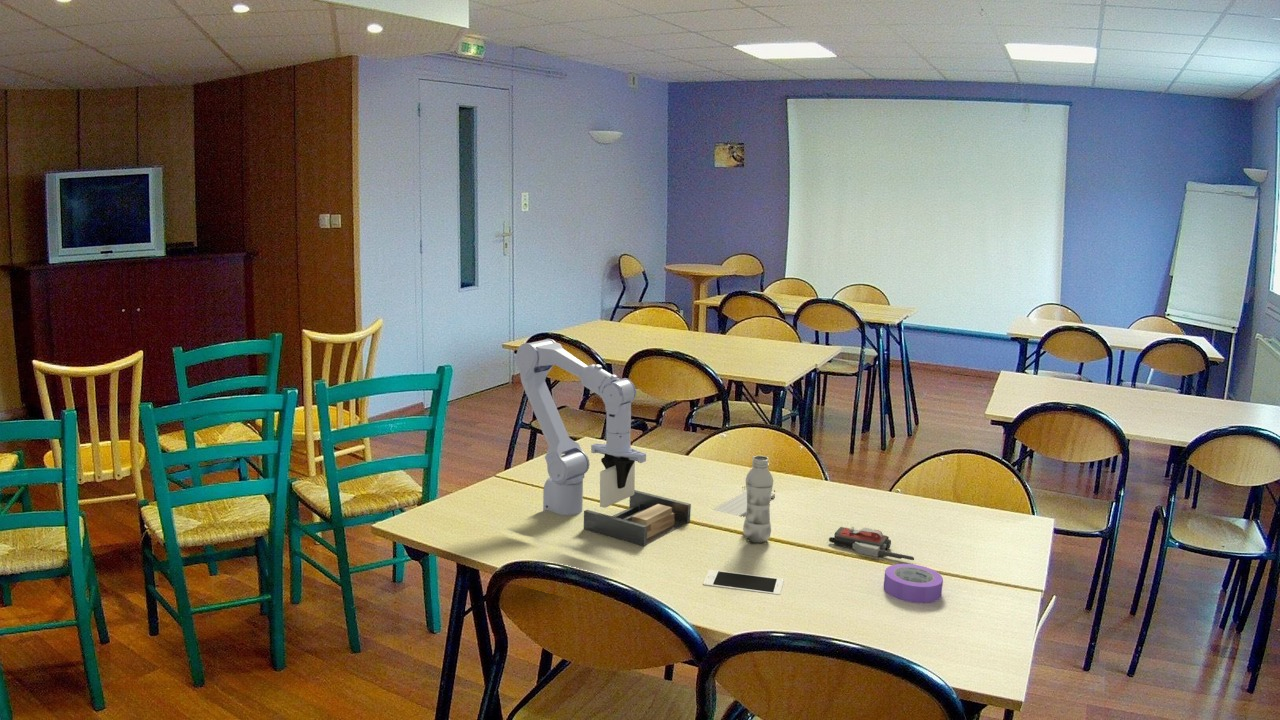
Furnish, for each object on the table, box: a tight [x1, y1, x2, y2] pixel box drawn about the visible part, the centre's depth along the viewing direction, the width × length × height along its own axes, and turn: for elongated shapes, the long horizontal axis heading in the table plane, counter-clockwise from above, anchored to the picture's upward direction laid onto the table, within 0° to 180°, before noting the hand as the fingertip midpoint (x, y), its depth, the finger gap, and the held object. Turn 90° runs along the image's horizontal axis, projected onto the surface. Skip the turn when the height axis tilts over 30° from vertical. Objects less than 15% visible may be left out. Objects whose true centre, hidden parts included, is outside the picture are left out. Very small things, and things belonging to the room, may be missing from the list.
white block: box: [599, 461, 636, 509], centre depth 233 cm, size 2×12×8 cm, turn 146°
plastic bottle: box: [742, 455, 774, 543], centre depth 229 cm, size 6×7×20 cm
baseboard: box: [711, 485, 776, 518], centre depth 251 cm, size 30×3×10 cm
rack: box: [583, 489, 692, 547], centre depth 234 cm, size 17×20×6 cm
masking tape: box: [883, 563, 944, 604], centre depth 205 cm, size 12×12×4 cm
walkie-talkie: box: [828, 526, 915, 561], centre depth 227 cm, size 9×4×20 cm
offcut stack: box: [632, 504, 674, 538], centre depth 232 cm, size 4×12×4 cm, turn 146°
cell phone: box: [702, 569, 785, 596], centre depth 207 cm, size 8×16×1 cm, turn 76°
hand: (617, 486), depth 234 cm, fingers closed on white block
